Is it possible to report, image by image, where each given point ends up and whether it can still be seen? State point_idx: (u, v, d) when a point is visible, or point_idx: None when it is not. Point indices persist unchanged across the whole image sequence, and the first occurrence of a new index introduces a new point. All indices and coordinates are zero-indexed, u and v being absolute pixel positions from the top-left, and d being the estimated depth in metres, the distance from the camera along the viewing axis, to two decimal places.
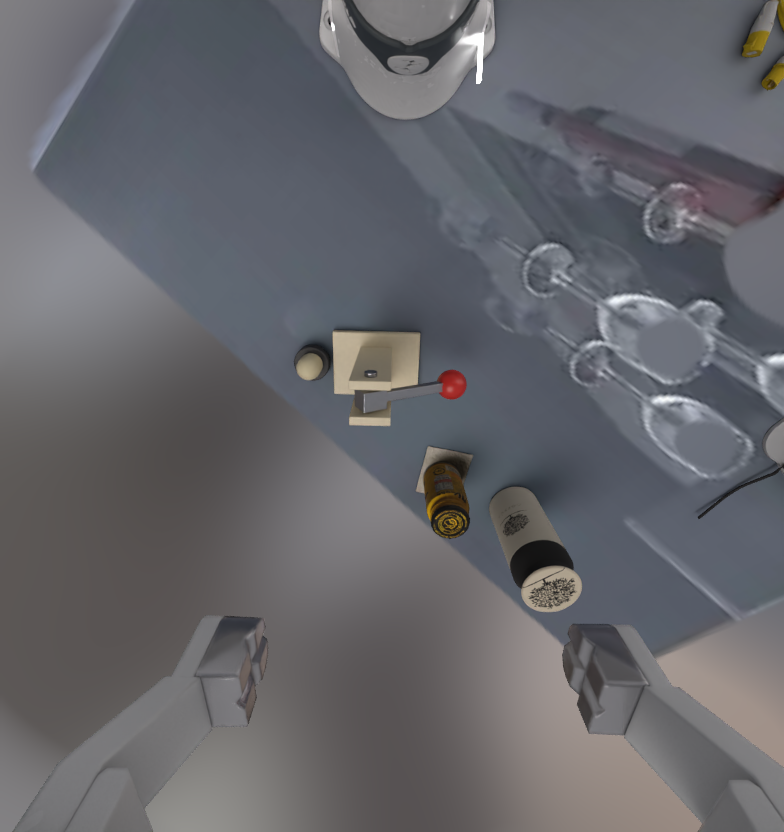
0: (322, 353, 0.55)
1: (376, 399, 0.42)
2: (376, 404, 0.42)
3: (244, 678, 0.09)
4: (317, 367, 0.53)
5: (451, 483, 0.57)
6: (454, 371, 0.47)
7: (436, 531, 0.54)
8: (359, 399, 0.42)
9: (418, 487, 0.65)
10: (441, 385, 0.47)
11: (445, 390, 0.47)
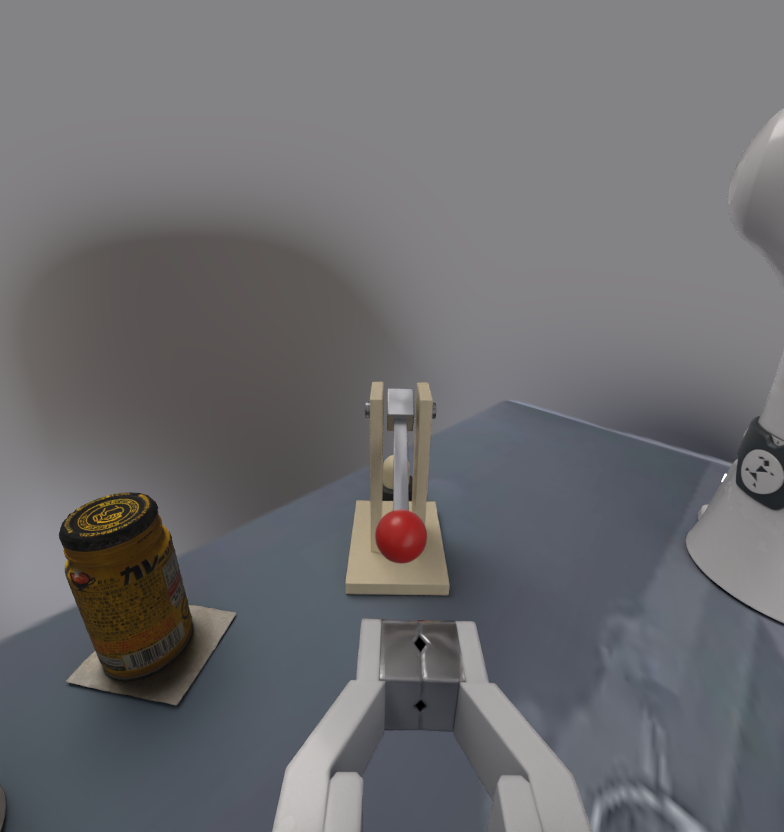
0: (409, 490, 0.46)
1: (403, 401, 0.33)
2: (396, 402, 0.33)
3: None
4: None
5: (167, 583, 0.27)
6: (426, 535, 0.27)
7: (107, 496, 0.27)
8: None
9: None
10: (404, 510, 0.28)
11: (397, 510, 0.28)
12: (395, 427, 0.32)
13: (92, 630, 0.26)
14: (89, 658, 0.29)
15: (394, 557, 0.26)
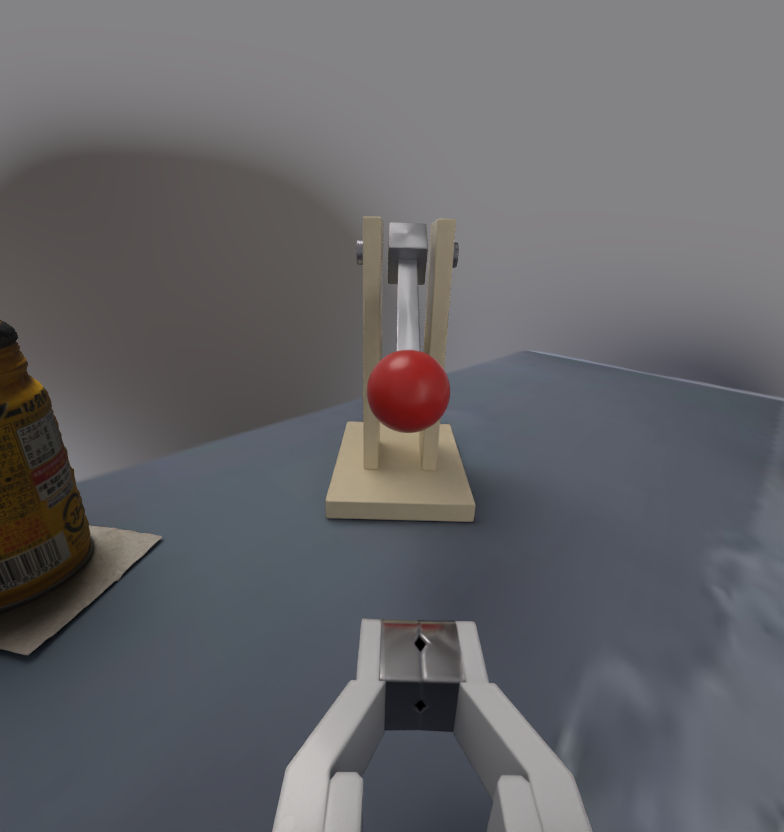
0: None
1: (412, 235, 0.23)
2: (401, 235, 0.23)
3: None
4: None
5: (29, 460, 0.17)
6: (449, 388, 0.17)
7: None
8: None
9: None
10: None
11: None
12: (400, 266, 0.22)
13: None
14: None
15: (397, 414, 0.16)
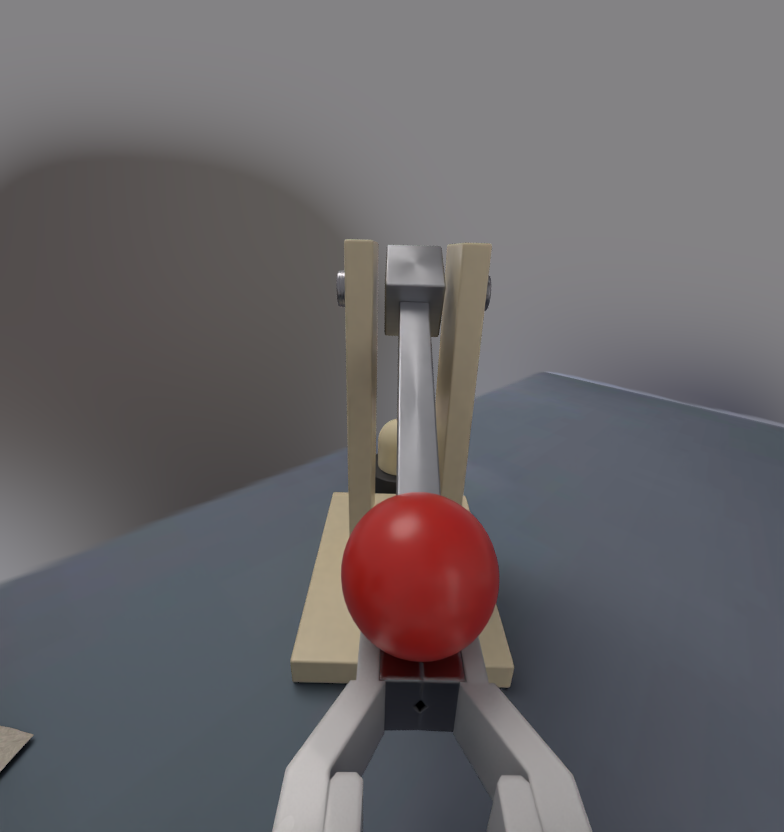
0: None
1: (421, 264, 0.15)
2: (404, 264, 0.15)
3: None
4: None
5: None
6: None
7: None
8: None
9: None
10: None
11: None
12: (402, 314, 0.14)
13: None
14: None
15: (399, 647, 0.08)
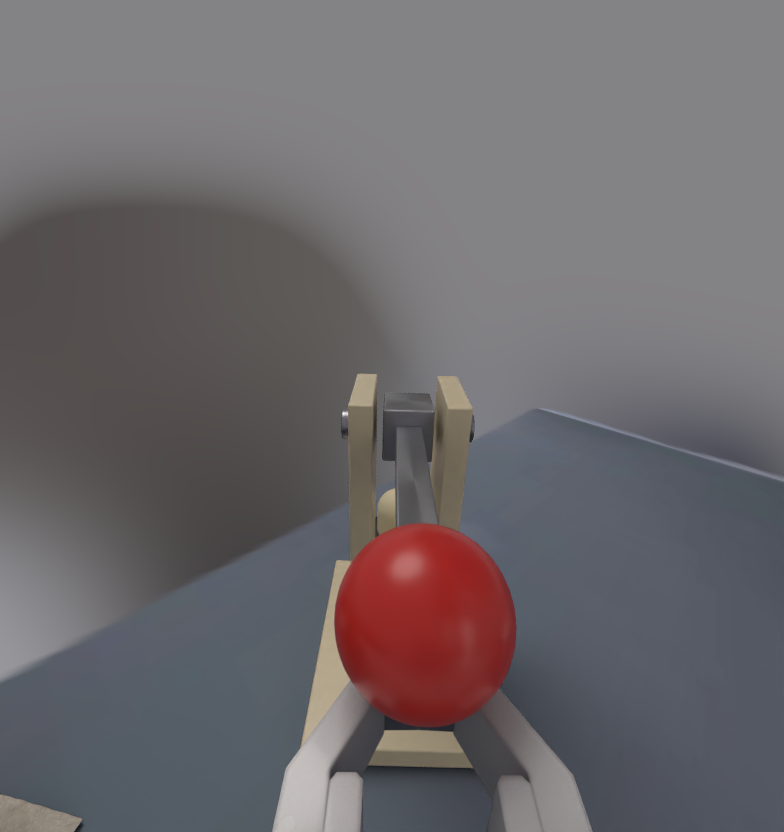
0: None
1: (413, 401, 0.18)
2: (399, 401, 0.18)
3: None
4: None
5: None
6: None
7: None
8: None
9: None
10: None
11: None
12: (399, 432, 0.16)
13: None
14: None
15: (403, 671, 0.06)
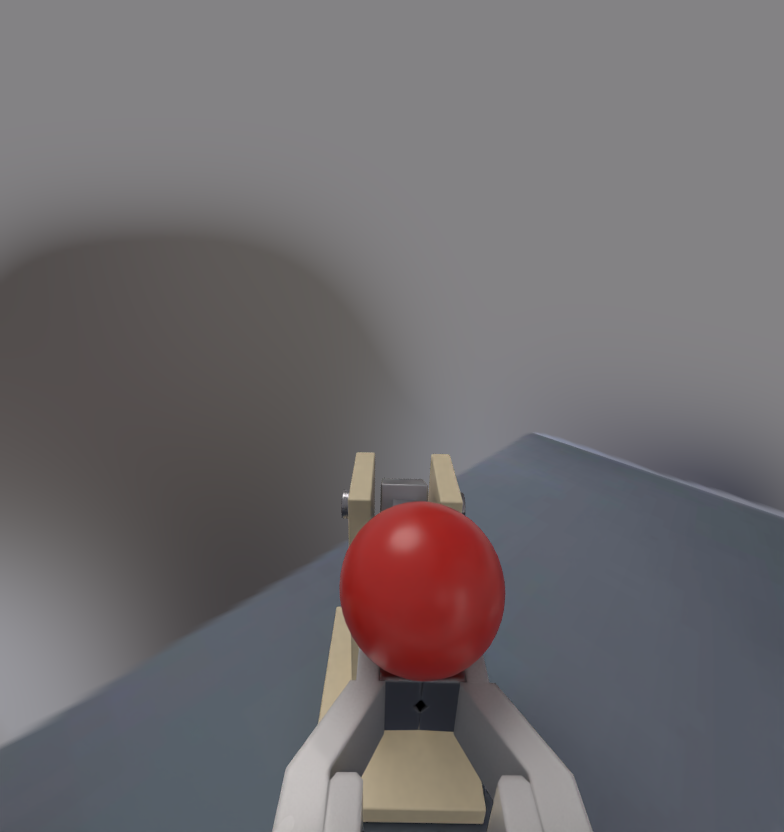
0: None
1: (408, 481, 0.20)
2: (395, 481, 0.20)
3: None
4: None
5: None
6: None
7: None
8: None
9: None
10: None
11: None
12: (395, 501, 0.18)
13: None
14: None
15: (403, 587, 0.07)
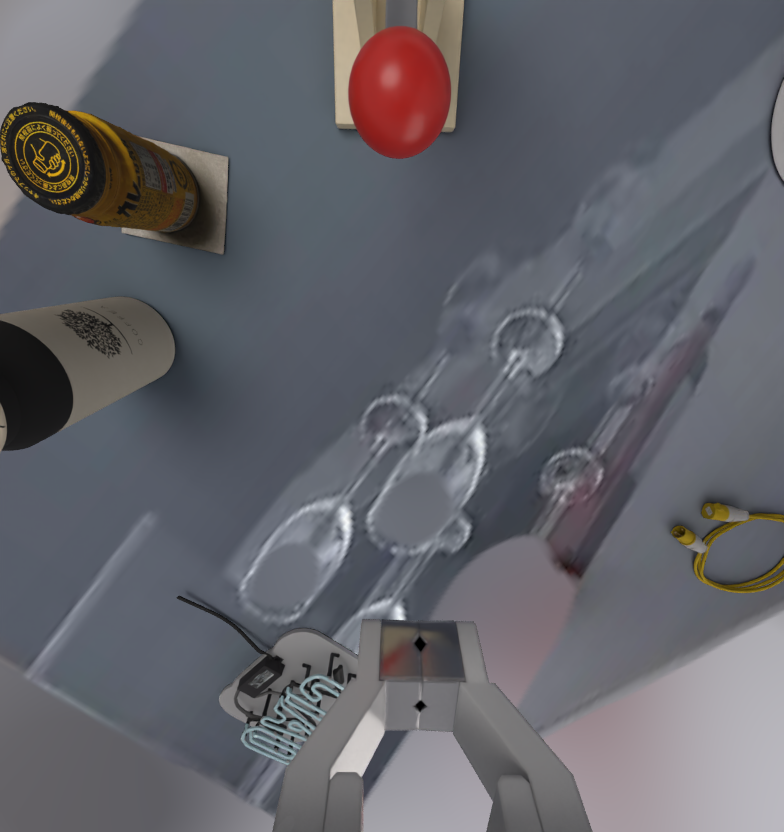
0: None
1: None
2: None
3: None
4: None
5: (157, 188, 0.27)
6: (450, 91, 0.14)
7: (11, 117, 0.21)
8: None
9: None
10: None
11: None
12: None
13: None
14: None
15: (385, 129, 0.13)
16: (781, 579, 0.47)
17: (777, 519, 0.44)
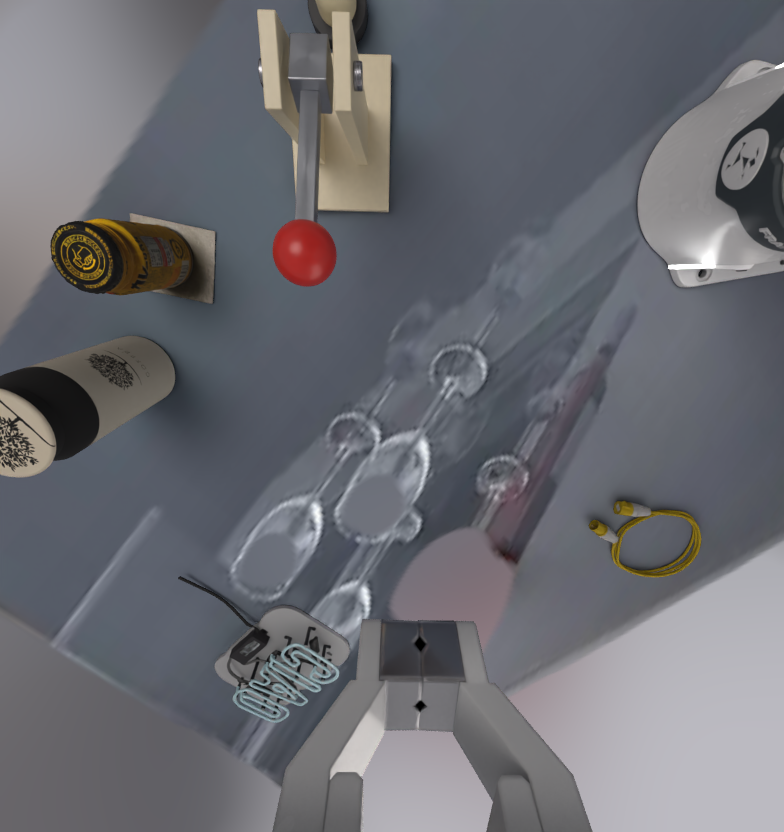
0: (356, 29, 0.33)
1: (312, 56, 0.22)
2: (300, 57, 0.22)
3: None
4: (337, 6, 0.30)
5: (160, 265, 0.36)
6: (334, 252, 0.23)
7: (59, 231, 0.30)
8: None
9: (138, 217, 0.40)
10: None
11: (298, 219, 0.22)
12: (301, 102, 0.23)
13: None
14: None
15: (294, 277, 0.22)
16: (685, 565, 0.56)
17: (676, 515, 0.52)
